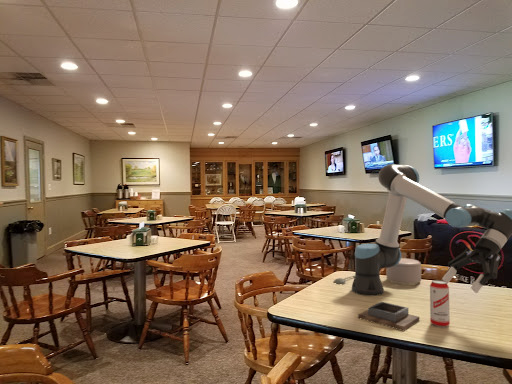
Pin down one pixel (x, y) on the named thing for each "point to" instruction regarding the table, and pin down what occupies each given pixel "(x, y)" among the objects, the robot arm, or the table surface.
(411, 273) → the container
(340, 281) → the soupspoon
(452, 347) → the table surface
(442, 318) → the beer can
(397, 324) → the keeper board
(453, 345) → the table surface
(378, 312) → the grey shallow square box
